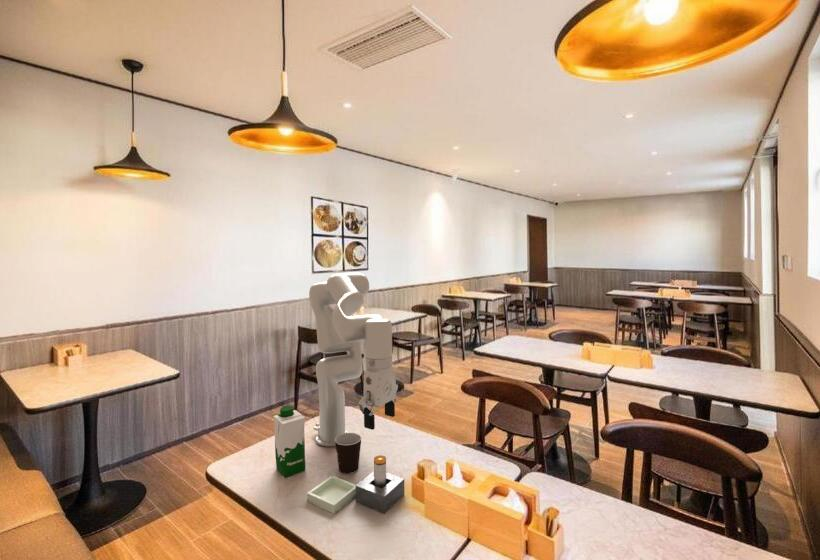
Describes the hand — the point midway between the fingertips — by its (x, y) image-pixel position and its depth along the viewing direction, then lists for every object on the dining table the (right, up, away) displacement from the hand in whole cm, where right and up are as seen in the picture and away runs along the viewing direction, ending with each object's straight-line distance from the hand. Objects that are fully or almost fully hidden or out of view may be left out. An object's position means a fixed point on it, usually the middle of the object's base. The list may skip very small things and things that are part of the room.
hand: (379, 421), depth 113 cm
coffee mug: (-11, -22, +20) cm, 31 cm away
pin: (0, -23, +2) cm, 23 cm away
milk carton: (-30, -22, +17) cm, 41 cm away
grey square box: (0, -23, +2) cm, 23 cm away
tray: (-14, -23, +2) cm, 27 cm away
